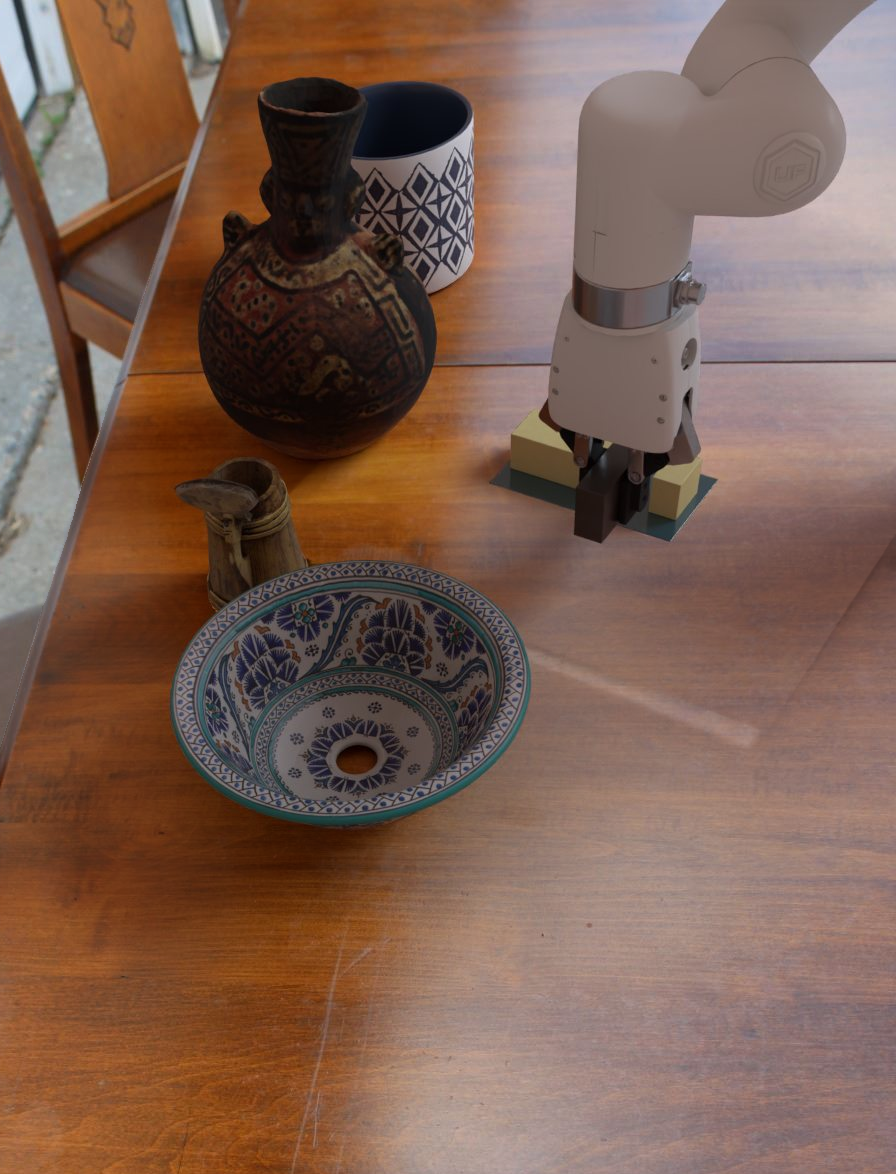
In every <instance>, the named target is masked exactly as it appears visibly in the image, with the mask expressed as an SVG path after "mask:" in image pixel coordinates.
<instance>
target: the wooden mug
mask: <svg viewBox="0 0 896 1174" xmlns="http://www.w3.org/2000/svg"><path fill="white" fill-rule="evenodd" d="M280 474H281V473H280V471H279V469H278V468H277V467H276V466H275V464H273V463H271V462H270V461H268V460H267V459H264V458H261V457H257V456H238V457H232V458H229V459H226V460H224V461H222V462H221V463H220V464H218V465H217V466H216V467H214V468H213V469H212V470H211V471H210V473H209V474H208V475H207V477H202V478H195V479H189V480H186V481H183V482H180V483H178V484H177V485H175V486H174V488H173V491H174V492H175V495H177V497H178V498H179V500H180V501H182V502H183V503H185V504H187V505H188V506H191V507H193V508H196V509H199V510H201V511H202V514H203V518H204V521H205V525H206V533H207V549H208V573H207V576H206V585H207V597H208V596H209V598H208V600H209V599H210V601H211V604H212V606H213V607H214V608H215V610H217V611H219V610H220V609H221V608H223V607H224V606H225V605H227V604H228V603H229V602H230V601H232V600H233V599H235V598H236V597H238V596H239V595H241V594H243V593H244V592H246V591H248V590H250V589H251V588H253V587H255V586H257V585H259V584H261V583H263V582H266V581H268V580H270V579H272V578H275V577H278V576H280V575H283V574H285V573H289V572H292V571H295V570H298V569H302V568H306V567H309V564H308V559H307V557H305V555H304V554H303V552H302V549H301V545H300V541H299V538H298V535H297V532H296V531H297V530H296V529H295V525H294V522H293V521H294V520H293V518H292V503H291V499H290V495H289V493H288V489H287V486H286V483H285V481H284V480H283V479H282V478H281V475H280ZM210 601H209V602H210ZM211 604H210V605H211Z"/></svg>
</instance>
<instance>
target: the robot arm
mask: <svg viewBox="0 0 896 1174" xmlns="http://www.w3.org/2000/svg"><path fill="white" fill-rule="evenodd" d="M877 1H878V0H725V1H724V2H723V3H722V5H720V7H719V8H718V9H717V11H716V12H715V13H714V15H713V16H712V18H710V20H709V21H708V22H707V24H706V25H705V27H704V28H703V29H702V31H701V32H700V34H699V36H697V39H696V41H695V42H694V43H693V46H692V48H691V49H690V51H689V53H688V54H687V56H686V59H685V61H684V64H683V67H682V69H681V72H680V74H679V73H675V72H671V71H666V70H655V69H654V70H652V69H651V70H638V71H631V72H626V73H622V74H619V75H616V76H614V77H611V78H609V79H607V80H605V81H603V82H602V83H600V84H599V85H598V86H596V87H595V88H594V89H593V90H592V91H591V92H590V93H589V94H588V96H587V98H586V99H585V101H584V103H583V104H582V108H581V110H580V114H579V118H578V119H579V120H578V130H577V153H576V155H577V157H576V179H575V180H576V183H575V184H576V185H575V210H574V213H575V215H574V229H573V231H574V232H573V252H572V253H573V254H572V255H573V257H572V258H573V260H572V276H571V277H572V278H571V279H572V280H571V289H570V290H569V292H567V294H566V296H565V297H564V300H563V303H562V306H561V310H560V315H559V318H558V322H557V326H556V332H555V336H554V341H553V347H552V351H551V358H550V367H549V369H550V370H549V377H548V391H547V398H546V400H545V402H544V403H543V405H542V406H541V409H540V412H539V418H540V420H541V421H542V422H544V423H545V424H546V425H548V426H549V427H550V428H551V429H553V430H554V431H555V432H559V433H560V436H561V438H562V439H563V441H564V442H565V443H566V445H567V446H568V447H569V449H570V450H571V451H572V452H573V454H574V455H573V461H574V463H575V465H576V466H577V467H579V468H580V469H579V483H580V482H581V480H582V479H583V478H584V477H585V476H586V474H587V473H588V472H589V471H590V470H591V468H592V467H593V466H594V465H595V464H596V462H597V461H598V460H599V459H600V458H601V456H602V455H603V454H604V453H605V451H606V450H607V449H608V448H604V447H603V445H604V441H608V442H612V443H615V444H619V445H622V446H626V447H628V470H627V475H626V476H625V478H624V479H623V480H622V482H621V484H620V495H619V508H618V521H619V524H623V525H627V523H628V522H629V521H630V520H631V518H632V517H633V516H634V515H635V513H636V512H641V511H642V510H643V509H644V507H645V506H646V504H647V501H648V497H649V487H650V477H651V475H652V474H654V473H655V472H657V471H659V470H661V469H663V468H664V467H665V466H667V465H672V466H674V465H682V464H689V463H692V462H693V461H694V459H695V458H696V457H699V454H700V453H701V451H702V446H701V444H700V440H699V438H698V434H697V432H696V428H695V426H694V423H693V422H694V421H695V420H696V418H697V414H698V409H699V401H700V390H701V389H700V385H701V363H702V362H701V361H702V358H701V356H702V352H701V351H702V349H701V346H702V345H701V330H700V319H699V311H698V306H701V305H702V304H703V301H704V299H705V296H706V294H707V283H705V282H704V283H703V282H699V281H697V279H696V278H693V275H692V267H693V261H690V259H691V249H692V241H693V232H694V223H695V216H696V217H699V216H700V217H729V218H731V217H732V218H769V217H775V216H780V215H785V214H789V213H791V212H794V211H796V210H799V209H801V208H803V207H805V206H807V205H808V204H811V203H812V202H813V201H815V200H816V199H817V198H818V197H820V196H821V195H822V194H823V193H824V192H825V191H826V190H827V189H828V188H829V187H830V185H831V184H832V183H833V182H834V181H835V179H836V177H837V175H838V173H839V172H840V170H841V167H842V164H843V162H844V159H845V155H846V150H847V131H846V124H845V121H844V117H843V115H842V113H841V111H840V109H839V107H838V104H837V103H836V101H835V100H834V98H833V97H832V96H831V94H830V93H829V91H828V90H827V89H826V87H825V86H824V84H823V83H822V82H821V81H820V79H819V78H818V76H817V74H816V73H815V72H814V70H813V69H812V67H811V66H810V65H811V64H812V63H813V61H814V60H815V59H816V58H817V57H818V56H819V54H821V53H822V51H823V50H824V49H825V48H826V47H827V46H828V45H829V44H830V42H831V41H832V40H833V39H834V38H835V37H836V36H837V35H838V34H839V33H840V32H841V31H843V29H844V28H846V27H847V25H848V24H849V23H851V22H852V21H853V20H854V19H855V18H856V17H858V16H859V15H860V14H861V13H862V12H864V11H865V10H866V9H868V8H869V7H870V6H872V5H873V4H874V3H876V2H877Z"/></svg>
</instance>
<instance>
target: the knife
mask: <svg viewBox="0 0 896 1174" xmlns="http://www.w3.org/2000/svg"><path fill="white" fill-rule="evenodd" d="M627 470H628V447H626V446H622V445H619V444H615V443H612V444H611V445H610V447H609V448H608V449H607V450H606V451H605V453H604V454H603V455H602V456H601V458H600V459H599V460H598V461H597V462H596V464H595V465H594V466H593V467H592V468H591V470H590V471H589V472H588V473H587V474H586V476H585V477H584V478H583V479H582V480H581V482H580V483H579V484H578V485H577V486H576V494H575V511H574V520H573V535H574V536H576V537H579V538H582V539H586V540H588V541H592V542H594V543H598V544H600V545H601V544H603V543H604V542H605V540H606V539H607V537H608V536H609V535H610V534H611V533H612V531H613V530H614V529H615V527H616V526H618V525H617V523H618V522H619V521H618V508H619V495H620V484H621V482H622V480H623V479H624V478H625V476H626V475H627Z"/></svg>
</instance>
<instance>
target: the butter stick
mask: <svg viewBox="0 0 896 1174" xmlns="http://www.w3.org/2000/svg"><path fill="white" fill-rule="evenodd" d="M540 410H541V409H540ZM540 410H539V409H536V408H533V409H532V410H531V411H530V412H529V413H528V415H526V417H525V418H524V419H523V420H522V421H521V422H520V423H519V424H518V426H517V427H516V428H515V429H514V430H513V431H512V432H511V433H510V456H509V457H510V458H509V460H510V468H512V469H515V470H518V471H521V472H525V473H528V474H531V475H534V476H537V477H540V478H543V479H547V480H550V481H553V482H556V483H559V484H562V485H565V486H569V487H572V488H575V489H576V486H577V485H578V484H579V469H580V468H579V467H577V466H576V465H575V463H574V461H573V455H574V454H573V452H572V451H571V450H570V449H569V447H568V446H567V445H566V443H565V442H564V441H563V439H562V438H561V436H560V433H559V432H555V431H554V430H553V429H551V428H550V427H549V426H548V425H546V424H545V423H544V422H542V421H541V420H540V418H539V412H540ZM611 444H612V442H608V441H604V445H603V447H604V448H609V447H610V445H611Z"/></svg>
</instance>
